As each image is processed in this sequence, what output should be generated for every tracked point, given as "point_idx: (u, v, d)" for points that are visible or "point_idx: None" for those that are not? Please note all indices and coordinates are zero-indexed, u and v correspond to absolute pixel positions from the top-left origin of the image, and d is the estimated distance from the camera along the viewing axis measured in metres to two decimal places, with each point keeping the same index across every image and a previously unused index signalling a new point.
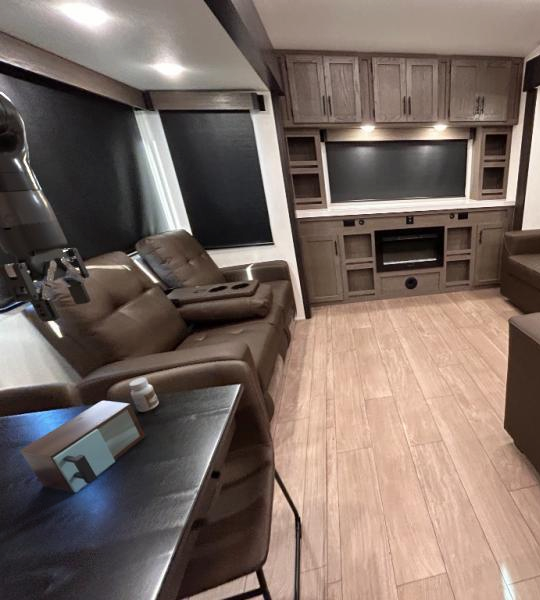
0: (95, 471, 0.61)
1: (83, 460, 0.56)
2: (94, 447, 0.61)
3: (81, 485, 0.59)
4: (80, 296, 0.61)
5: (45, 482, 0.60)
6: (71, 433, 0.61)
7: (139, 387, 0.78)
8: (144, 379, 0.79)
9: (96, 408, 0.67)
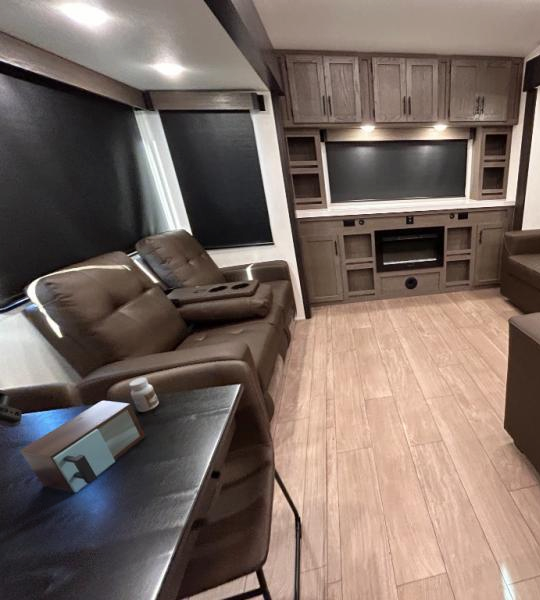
0: (95, 471, 0.61)
1: (83, 460, 0.56)
2: (94, 447, 0.61)
3: (81, 485, 0.59)
4: None
5: (45, 482, 0.60)
6: (71, 433, 0.61)
7: (139, 387, 0.78)
8: (144, 379, 0.79)
9: (96, 408, 0.67)
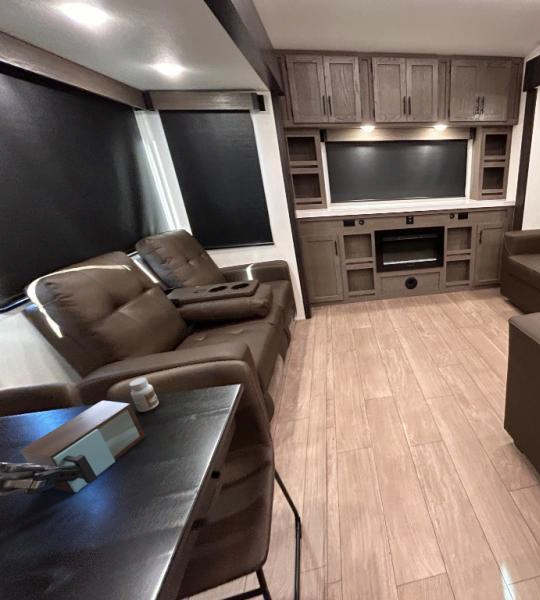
0: (95, 471, 0.61)
1: (83, 460, 0.56)
2: (94, 447, 0.61)
3: (81, 485, 0.59)
4: None
5: None
6: (71, 433, 0.61)
7: (139, 387, 0.78)
8: (144, 379, 0.79)
9: (96, 408, 0.67)
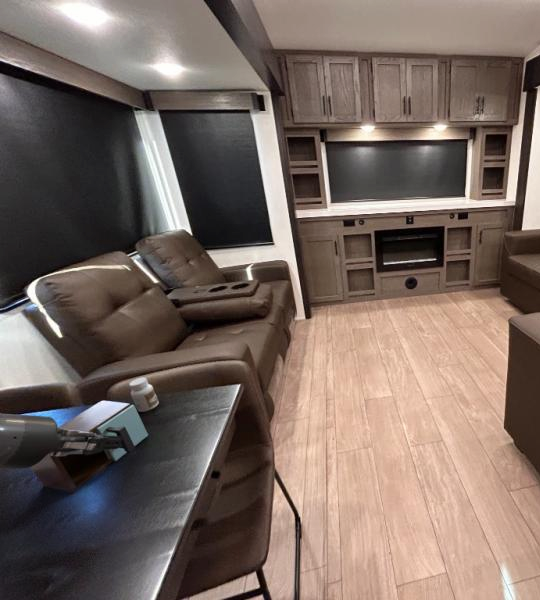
0: None
1: (123, 430, 0.62)
2: (131, 421, 0.68)
3: (120, 454, 0.66)
4: None
5: (45, 482, 0.60)
6: None
7: (139, 387, 0.78)
8: (144, 379, 0.79)
9: (96, 408, 0.67)
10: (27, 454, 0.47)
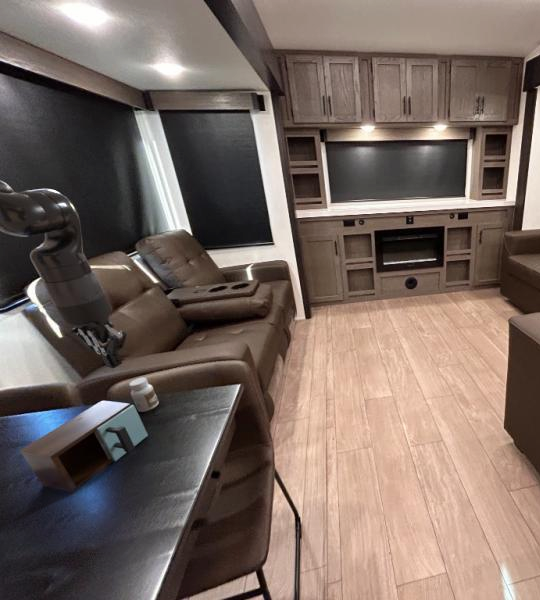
0: None
1: (123, 430, 0.62)
2: (130, 421, 0.67)
3: (120, 455, 0.66)
4: None
5: (45, 482, 0.60)
6: (71, 433, 0.61)
7: (139, 387, 0.78)
8: (144, 379, 0.79)
9: (96, 408, 0.67)
10: (89, 310, 0.62)
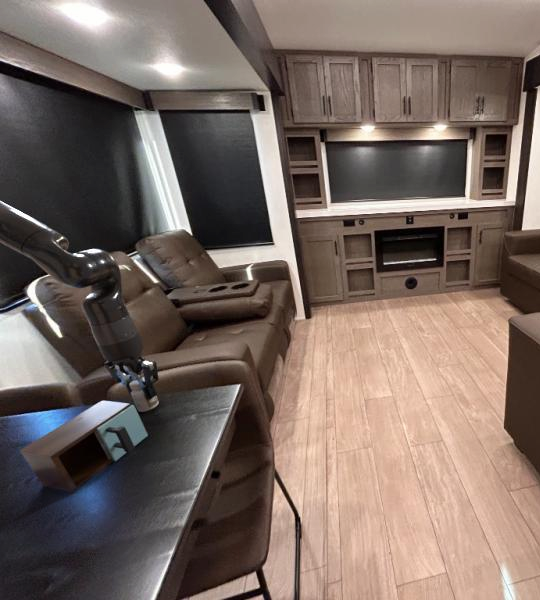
0: None
1: (123, 430, 0.62)
2: (130, 421, 0.67)
3: (120, 455, 0.66)
4: None
5: (45, 482, 0.60)
6: (71, 433, 0.61)
7: (139, 387, 0.78)
8: (144, 379, 0.79)
9: (96, 408, 0.67)
10: (126, 347, 0.73)
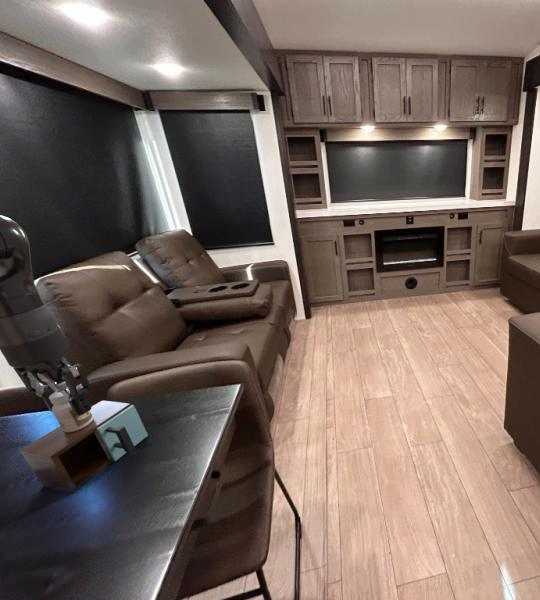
0: None
1: (123, 430, 0.62)
2: (130, 421, 0.67)
3: (120, 455, 0.66)
4: None
5: (45, 482, 0.60)
6: (71, 433, 0.61)
7: (62, 401, 0.59)
8: None
9: (96, 408, 0.67)
10: (38, 349, 0.54)
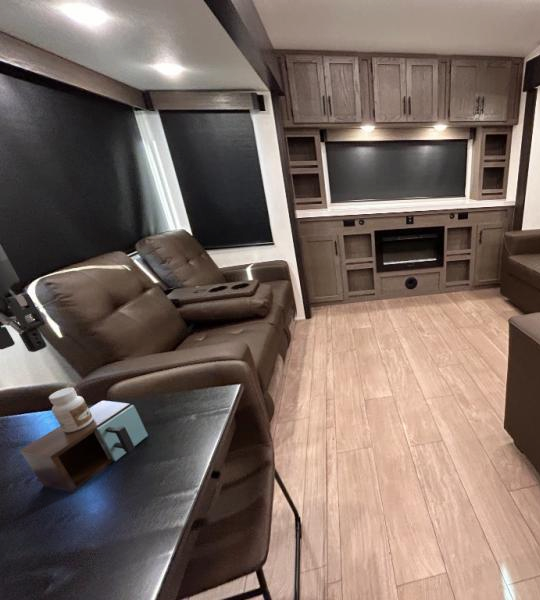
0: None
1: (123, 430, 0.62)
2: (130, 421, 0.67)
3: (120, 455, 0.66)
4: None
5: (45, 482, 0.60)
6: (71, 433, 0.61)
7: (62, 401, 0.59)
8: (71, 390, 0.61)
9: (96, 408, 0.67)
10: None
